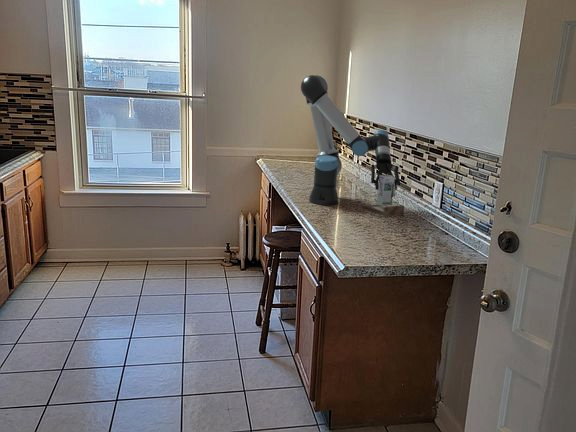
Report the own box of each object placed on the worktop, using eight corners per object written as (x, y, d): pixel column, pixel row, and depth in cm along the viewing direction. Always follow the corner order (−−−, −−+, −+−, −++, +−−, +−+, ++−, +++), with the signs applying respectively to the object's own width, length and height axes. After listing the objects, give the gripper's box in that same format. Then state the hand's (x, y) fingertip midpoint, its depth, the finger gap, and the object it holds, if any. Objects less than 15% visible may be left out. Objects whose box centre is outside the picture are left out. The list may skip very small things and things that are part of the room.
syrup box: (381, 205, 252) (384, 176, 248) (376, 202, 257) (379, 174, 253) (391, 205, 253) (395, 176, 249) (386, 202, 259) (389, 174, 255)
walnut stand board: (385, 216, 246) (386, 207, 245) (363, 208, 259) (364, 200, 258) (403, 214, 253) (404, 205, 251) (381, 206, 265) (382, 198, 264)
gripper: (400, 162, 265) (404, 200, 254) (362, 160, 264) (365, 198, 253) (404, 153, 259) (408, 192, 247) (365, 151, 258) (368, 190, 246)
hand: (386, 195), depth 250 cm, fingers closed on syrup box, 7 cm apart
